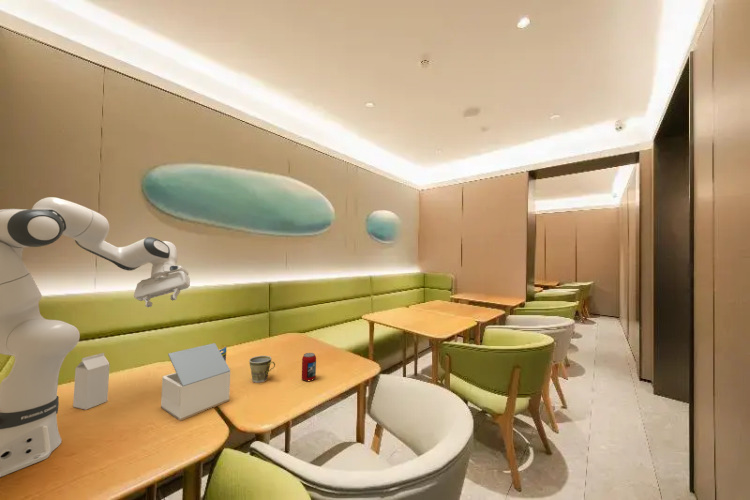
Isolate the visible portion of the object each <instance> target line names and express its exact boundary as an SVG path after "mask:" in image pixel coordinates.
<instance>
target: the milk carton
mask: <svg viewBox="0 0 750 500" xmlns="http://www.w3.org/2000/svg"><path fill="white" fill-rule="evenodd" d="M74 374H75V375H74V386H73V387H74V388H73V389H74V390H73V401H72V402H73V403H72V404H73V405H72V407H73V408H77V409H80V410H81V409H82V410H88V409H91V408H93V407H96V406H98V405H101V404H104V403H106V402H108V397H109V395H108V394H109V380H110V379H109V378H110V362H109V361H108V359H107V357H106V356H105V352H101V353H98V354H94V355H89V356H85V357H82V358H81V361H80V363H79V364H78V365H76V367H75V371H74Z"/></svg>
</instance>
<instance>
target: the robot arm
mask: <svg viewBox="0 0 750 500" xmlns="http://www.w3.org/2000/svg"><path fill="white" fill-rule="evenodd" d="M109 233H110V222H109V220H108V218H107V217H105V216H104V215H103V214H101V213H100V212H97V211H95V210H93V209H90V208H88V207H86V206H84V205H82V204H81V205H80V204H78V203H76V202H73V201H70V200H67V199H62V198H59V197H53V196H51V197H50V196H49V197H44V198H41V199H40V200H38V201H37V202H35V203H34V204H33V206H32V208H31V209H30V208H29V209H27V208H25V209H20V208H4V209H0V354H1V355H5V356H13V357H14V363H13V366H12V367H11V370H10V372H9V374H8V375H7V376H5V377H4V378H3V379H2V380H1V382H0V478H1V477H4V476H6V475H9V474H11V473H13V472H16V471H19V470H21V469H24V468H26V467H29V466H31V465H33V464H37V463H39V462H41V461H43V460H46V459H48V458H49V457H50V456H51V454H52V452H53V451H54V450H55V449H57V448H58V447H59V446H60V445H61V444H62V441H63V440H62V437H61V435H60V432H59V429H58V428H59V427H58V419H57V418H58V417H57V414H59V413H58V412H59V406H60V404H59V398H60V397H59V395H58V385H59V374H60V372H61V371H60V370H61V368H62V366H63V363H64V360H65V359H66V356H67V355H68V354H69V353H70V352H71V351H73V349H75V348H76V347H77V345H78V343H79V342H80V336H81V335H80V331H79V329H78V328H77V327H76V326H75V325H73V324H70V323H68V322H66V321H63V320H58V319H46V318H45V317H44V316H43V315H41V312H40V306H39V305H40V304H39V302H40V301H41V300H42V296H43V295H42V293H41V291H40V289H39V288H38V285H37V283H36V282H35V280H34V277H33V276H32V274H31V272H30V271H29V269H28V267H27V265H26V264H25V263H24V259H23V252H24V249H25V248H41V247H45V246H48V245H51V244H53V243H56V241H58V240H59V239H60V238H61V237H62V236H65V237H68V238H71V239H73V240H74V242H75V244H76V245H78V246H79V247H80V248H82V249H83V250H84V251H87V252H89V253H91V254H93V255H95V256H97V257H99V258H102V259H104V260H106V261H109V263H110V262H111V263H112V264H114V265H116V266H117V267H118V268H120V269H122V270H124V271H134V270H136V269H138V268H140V267H142V266H143V265H146V264H149V263H150V264H151V265H152V266H151V271H150V277H149V278H146V279H141V280H140V281H139V282H138V283H137V284H136V287H135V290H134V292H133V297H134V298H135V299H136V300H138V301H140V302H141V301H142V302H143V301H144V302H145V304H144V305H145V307H146V308H151V307H153V302H151V299H153V298H154V299H155V298H157V297H160V296H164V295H167V294H171V295H170V300H171V301H176V300H178V295H179V294H180V293H181V291H182V290H185V289H188V288H189V287H190V283H191V280H190V276H189V271H187V269H185V268H184V267H183V266H182V265H177V263H178V250H177V246H176V245H175V244H174V243H173V242H171V241H168V240H160V239H158V238H156V237H151V236H148V237H145V238H143V239H139V240H138V241H136V242H133V243H131V244H129V245H125V246H120V247H119V246H118V247H117V246H116V245H113V244H112V243H109V242H107V241H106V238H107V237H108V235H109Z"/></svg>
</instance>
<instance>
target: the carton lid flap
mask: <svg viewBox="0 0 750 500" xmlns="http://www.w3.org/2000/svg"><path fill="white" fill-rule="evenodd" d="M219 350H220V349H219V348H218V346H217V344H216V343H209V344H205V345H200V346H195V347H191V348H188V349H187V348H186V349H183V350H178V351H174V352H170V353H167V354H168V357H169V360H170V362H171V364H172V366H173V367H172V368H173V369H174V371H175V373H177V376H178V378H179V380H180V382H181V384H182V387H183V386H186V385H189V384H192V383H196V382H199V381H202V380H205V379H208V378H211V377H214V376H217V375H220V374H223V373H227V372H230V373H231V369H230V367H229V365H228V364H227V362H225V360H224V358H223V357H222V355H221V353H222V352H220V351H219Z"/></svg>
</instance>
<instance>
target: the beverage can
mask: <svg viewBox="0 0 750 500" xmlns="http://www.w3.org/2000/svg"><path fill="white" fill-rule="evenodd" d="M316 373H317V357H316V354H315V353H314V352H306V353H304V354H303V356H302V359H301V380H302V381H304V380H306V381H305V382H309V381H308V380H312V379H313V380H315V379H316V376H317V375H316ZM314 378H315V379H314ZM313 380H312V381H313Z"/></svg>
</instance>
